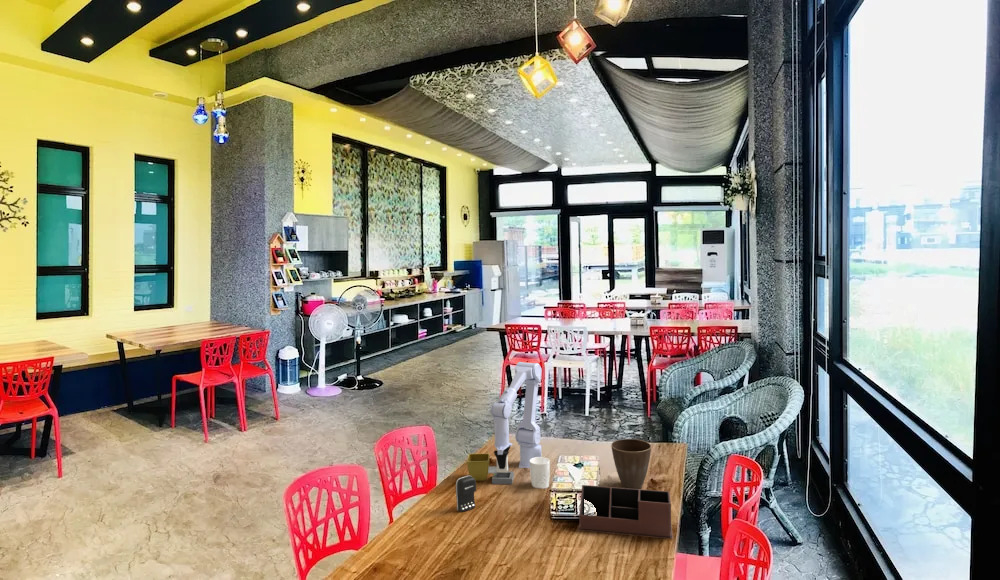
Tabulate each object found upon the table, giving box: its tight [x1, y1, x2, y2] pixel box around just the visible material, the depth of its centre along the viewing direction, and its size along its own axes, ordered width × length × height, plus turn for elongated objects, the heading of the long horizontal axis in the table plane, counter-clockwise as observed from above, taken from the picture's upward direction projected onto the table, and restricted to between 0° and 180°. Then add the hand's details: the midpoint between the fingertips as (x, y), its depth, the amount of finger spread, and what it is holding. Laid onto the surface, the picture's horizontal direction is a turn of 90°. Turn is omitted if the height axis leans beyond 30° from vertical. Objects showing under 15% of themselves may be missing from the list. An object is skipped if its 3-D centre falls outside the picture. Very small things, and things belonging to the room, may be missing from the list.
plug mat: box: [488, 465, 510, 474], centre depth 235 cm, size 9×8×1 cm
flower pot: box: [466, 452, 491, 482], centre depth 226 cm, size 9×9×9 cm
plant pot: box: [610, 438, 652, 489], centre depth 214 cm, size 15×15×16 cm
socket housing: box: [491, 470, 515, 485], centre depth 223 cm, size 8×8×3 cm
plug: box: [495, 454, 509, 473], centre depth 223 cm, size 4×4×6 cm
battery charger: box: [455, 474, 477, 513], centre depth 198 cm, size 7×4×11 cm, turn 126°
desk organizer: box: [577, 484, 674, 540], centre depth 182 cm, size 10×29×11 cm, turn 75°
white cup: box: [529, 456, 551, 489], centre depth 217 cm, size 8×8×10 cm
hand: (502, 466), depth 223 cm, fingers closed on plug, 4 cm apart
